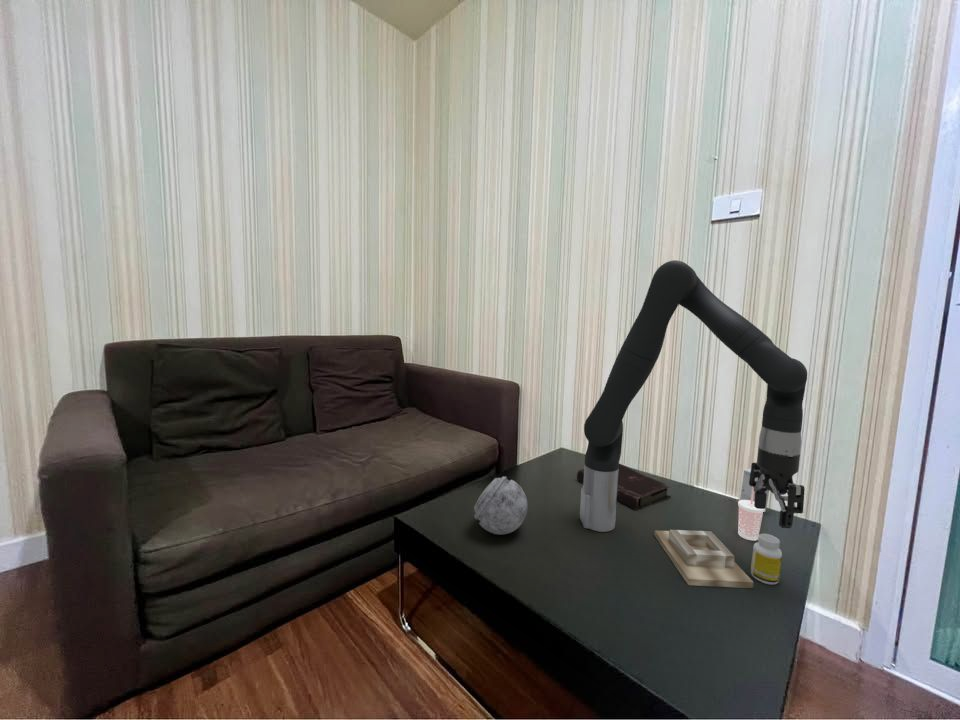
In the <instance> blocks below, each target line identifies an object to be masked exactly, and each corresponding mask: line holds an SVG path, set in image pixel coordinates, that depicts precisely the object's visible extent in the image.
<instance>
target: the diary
mask: <svg viewBox="0 0 960 720" xmlns="http://www.w3.org/2000/svg"><path fill="white" fill-rule="evenodd" d="M576 480H577V482H579V481H580V482H579V483H581V482H582V483H581V484H583V483H584V468H582V469H578V470H577V473H576ZM672 487H673V486H671V485H670V484H667V483H665V482H662V481H659V480H658V479H654V478H652V477H650V476H647V475H645V474H643V473H640V472H638V471H636V470H635V469H632V468H630V467H628V466H627V465H624V464H623V463H622V464H621V463H619V471H618V486H617V501H616V502H619V503H620V504H623V505H625V506H627V507H628V508H630V509H632V510H634V511H638V509H640V508H641V507H644V506H647V505H650V504H651V505H655V504H658V503H661V502H664V501H667V500H669V499H670V498H671V497H672V495H668V488H672Z"/></svg>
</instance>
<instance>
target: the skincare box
mask: <svg viewBox="0 0 960 720" xmlns="http://www.w3.org/2000/svg"><path fill="white" fill-rule="evenodd" d="M750 472H751V467H750V468H746V469H744V470H743V474H742V475H743V477H742V482H741V489H740V496H739V500H751V494H752V487H753V486H750V485H749V480H750ZM755 481H758V478H755ZM769 492H770V490H768V491H767V492H765V493H766V494H767V498H766V507H765V511H764V513H766V512H767V507H768V500H769ZM754 500H755V492H754V495H753V501H754Z"/></svg>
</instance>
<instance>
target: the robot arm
mask: <svg viewBox="0 0 960 720" xmlns="http://www.w3.org/2000/svg"><path fill="white" fill-rule="evenodd" d="M678 306H681V307H683V308H684V309H686V310H687V311H689V312H690V313H691V314H693V315H694V316H695V317H696V318H697V319H699V320H700V321H701V322H702V323H703V325H705V326H706V327H707V328H708V329H709V330H710V332H712V334H713V335H714V336H715V337H716V338H717V339H718V340H719V341H720V342H722V344H724V345H725V346H726V347H727V348H728V349H729V350H730V351H732V353H733V354H735V355H736V356H738V357H739V358H740V359H742V361H744V362H745V363H747V364H748V366H749V367H750V368H751V370H753V372H755V373H756V374H757V376H758V377H760V379H761V380H762V381H764V383H765V384H767V387H766V401H765V402H764V403H765V404H764V407H763V411H762V418H761V419H762V421H761V428H760V433H759V437H758V446H757V447H758V448H757V458H756V462H751V466H750V468H751V472H750V480H749V485H750V486H753V487H754V488H753V489H754V492H755V500H754V506H755V507H756V508H757V509H765V507H766V498H767V494H766V493H765V492H767V491H768V490H769V492H771V493H772V494H773V495H774V498H775V501H777V502H778V503H779V504H778V505H779V507H780V511H779V521H778V526H779V527H780V528H782V529H791V528H792V527H793V521H794V514H801V515H802V514H804V504H805V491H806V490H805V486H804V485H803V484H796V483H794V480H793V476H794V475H796V474H797V473H798V472H799V467H800V461H801V459H800V458H801V451H802V450H801V449H802V426H803V419H804V417H803V416H804V413H803V412H804V411H803V410H804V409H803V402H804V397H805V391H806V385H807V381H808V370H807V368H806V366H805V365H804V364H803V362H801V361H800V360H799V359H796V358H792V357H791V356H790V355H788V354H787V353H786V352H785V351H783V350H782V349H781V348H779V347H778V346H776V345H775V344H774V342H773V341H772V339H771V338H770V337H769V336H767V335H766V334H765V333H764V332H763V331H762V330H761V329H760V328H758V327H756V325H754V324H753V323H752V322H751V321H749V320H748V319H747V318H745V317H744V316H743V315H741V314H740V313H739V312H737V311H736V310H734V309H733V308H731V307H730V306H729V305H727V304H726V303H725V302H724V301H722V300H721V299H720V298H718V297H717V296H716V295H715V294H714V293H713V292H712V291H711V290H710V289H709V288H708V287H707V286H706V285H705V284H704V282H703V281H702V280H701V279H700V277H699V276H698V275H697V273H696V270H694V269H693V268H692V267H691V266H690V265H688V264H687V263H686V262H684V261H681V260H669V261H666V262H665V263H662V264H661V265H660V266H659V267H658V268H657V269H656V271H655V272H654V274H653V276H652V279H651V282H650V284H649V287H648V290H647V293H646V295H645V298H644V300H643V303H642V307H641V309H640V310H639V311H640V312H639V313H638V315H637V317H635V320H634V322H633V324H632V326H631V328H630V330H629V332H628V334H627V336H626V338H625V340H624V341H623V343H622V345H621V347H620V349H619V352H618V353H617V356H616V358H615V360H614V363H613V365H612V368H611V370H610V372H609V375H608V377H607V380H606V383H605V386H604V388H603V391H602V393H601V395H600V397H599V399H598V400H597V402H596V404H595V406H594V407H593V408H592V410H591V411H590V413H589V415H588V416H587V418H586V419H585V421H584V426H583V431H584V432H583V433H584V435H585V438H586V439H587V441H588V445H587V447H586V448H587V449H586V452H585V454H584V465H583V466H584V468H583V469H584V483H582V485H583V486H581V489H580V503H579V504H580V507H579V508H580V509H579V519H580V522H581V523H582V527H583V529H589V530H592V531H595V532H599V533H601V532H602V533H605V532H611V531H613V530H614V529H615V526H616V515H617V502H618V501H617V486H618V471H619V464H620V461H621V457H622V446H623V445H622V444H623V436H624V423H623V420H624V417H625V414H626V412H627V410H628V408H629V406H630V404H631V403H632V401H633V400H634V398H635V397H636V396H637V395H638V393H639V392H640V391H641V389H642V388H643V386H644V384H645V383H646V381H647V380H648V378H649V376H650V374H651V373H652V371H653V369H654V367H655V365H656V363H657V360H658V359H659V357H660V354H661V352H662V348H663V345H664V341H665V338H666V333H667V329H668V325H669V323H670V321H671V319H672V318H673V315H674V313H676V310H677V308H678ZM755 478H758V481H755ZM786 494H787V496H786ZM786 502H787V505H786ZM795 503H796V504H795Z"/></svg>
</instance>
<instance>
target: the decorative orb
mask: <svg viewBox="0 0 960 720" xmlns="http://www.w3.org/2000/svg"><path fill="white" fill-rule="evenodd" d="M473 509H474V515H473V517H474V518H475V520H478V521H479V523H478V524H479V525H480V526H481V528H483V530H485V531H487V532H489V533H491V534H493V535H498V536H499V535H501V536H502V535H507V534H511V533H512V532H513V533H514V532H515V531H516V530H518V529H519V528H520V526H521V525H522V524H523V523H524V521H525V519H526V516H527V514H528V499H527V496H526V493H525V491H524V490H523V488H522V486H521V485H519V484H518V483H517V482H516V481H515V480H513V479H510V480H509V479H508V477H507V476H502V477H495V478H494V479H493V480H492V481H491V482H490V483H489V484H488V485H487V486H486V487H485V488H484V490H483V491H482V493H481V494H480V495H479V497H478V499H477V500H476V503H475V504H474V506H473Z"/></svg>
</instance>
